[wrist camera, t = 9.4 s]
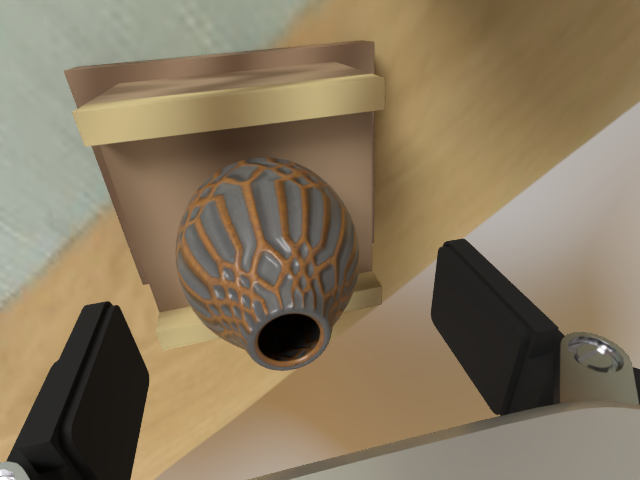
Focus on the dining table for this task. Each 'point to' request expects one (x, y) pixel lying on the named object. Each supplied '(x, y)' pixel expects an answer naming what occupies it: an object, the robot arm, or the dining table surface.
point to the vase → (268, 259)
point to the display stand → (227, 145)
